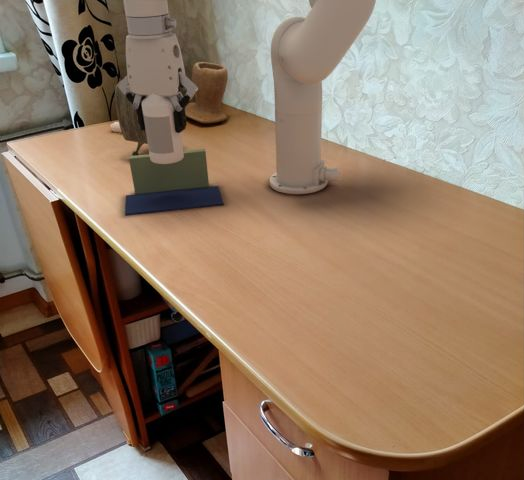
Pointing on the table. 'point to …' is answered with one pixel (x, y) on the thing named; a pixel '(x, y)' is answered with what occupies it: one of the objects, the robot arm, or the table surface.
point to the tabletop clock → (129, 120)
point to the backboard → (169, 173)
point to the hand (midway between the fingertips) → (163, 128)
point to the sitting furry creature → (115, 127)
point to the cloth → (173, 200)
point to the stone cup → (208, 93)
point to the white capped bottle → (161, 130)
